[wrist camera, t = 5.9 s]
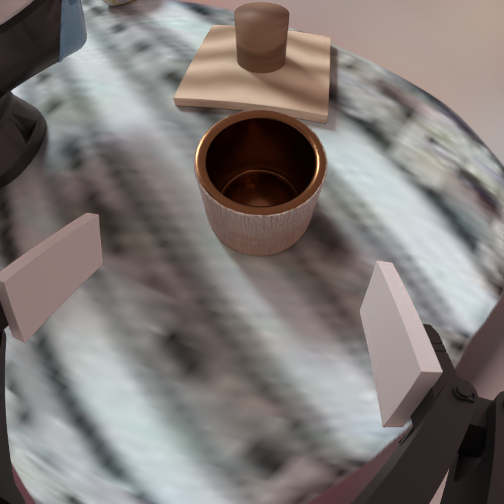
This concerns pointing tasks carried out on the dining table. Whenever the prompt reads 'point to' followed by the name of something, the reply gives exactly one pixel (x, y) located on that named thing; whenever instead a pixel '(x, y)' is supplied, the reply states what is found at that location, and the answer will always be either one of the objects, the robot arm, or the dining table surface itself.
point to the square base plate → (260, 67)
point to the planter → (260, 179)
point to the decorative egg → (117, 2)
